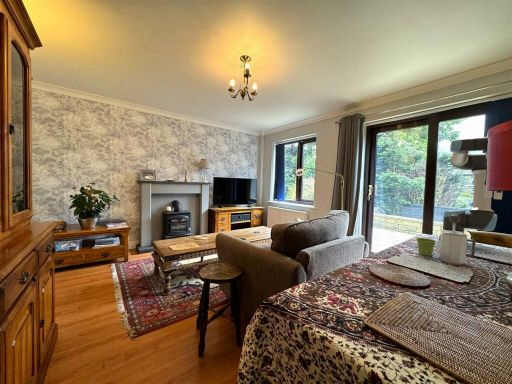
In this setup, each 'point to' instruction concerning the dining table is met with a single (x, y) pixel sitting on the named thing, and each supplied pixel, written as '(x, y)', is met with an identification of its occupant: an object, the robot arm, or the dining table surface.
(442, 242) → the press carafe
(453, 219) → the plunger
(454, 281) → the dining table surface
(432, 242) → the plant pot
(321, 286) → the dining table surface
